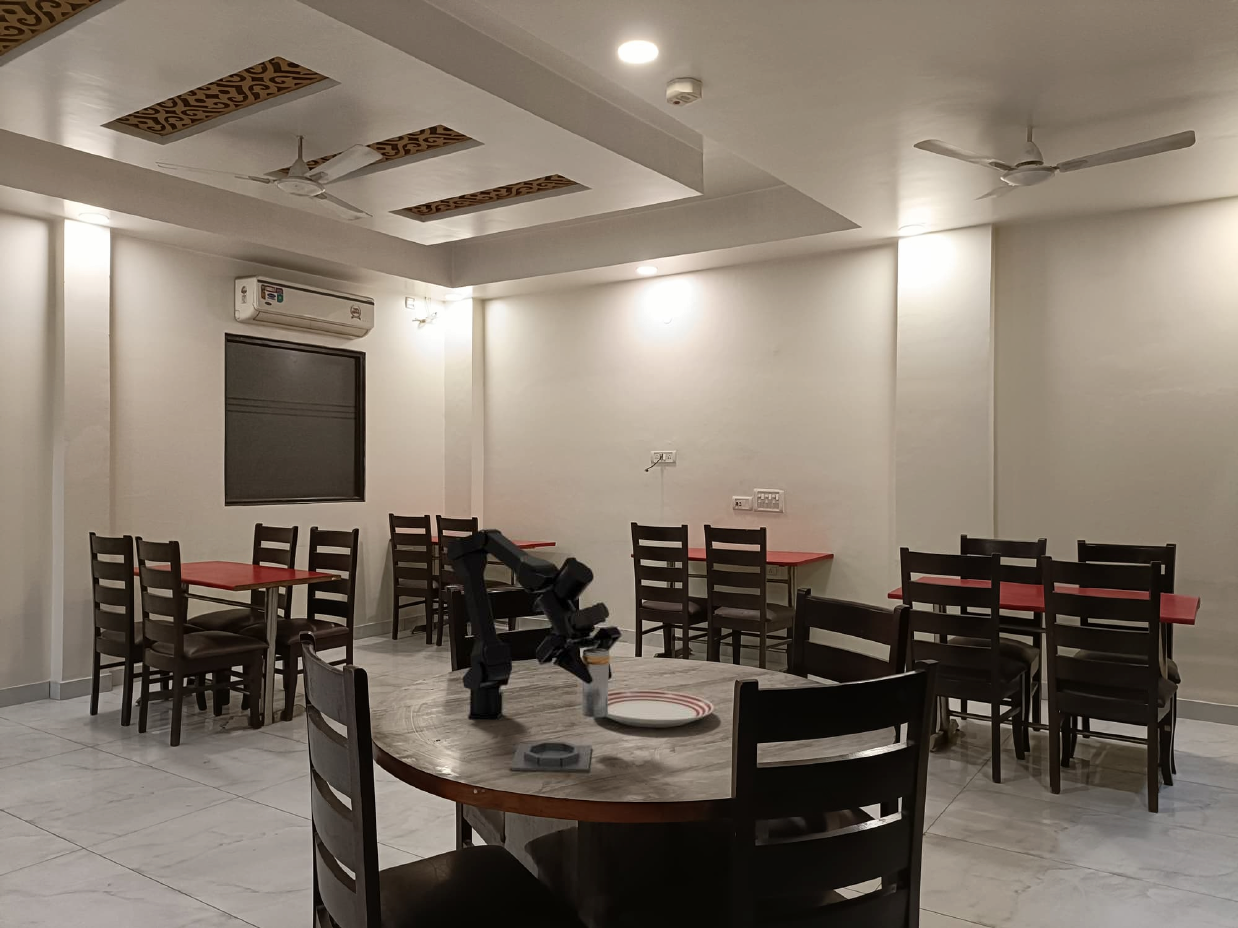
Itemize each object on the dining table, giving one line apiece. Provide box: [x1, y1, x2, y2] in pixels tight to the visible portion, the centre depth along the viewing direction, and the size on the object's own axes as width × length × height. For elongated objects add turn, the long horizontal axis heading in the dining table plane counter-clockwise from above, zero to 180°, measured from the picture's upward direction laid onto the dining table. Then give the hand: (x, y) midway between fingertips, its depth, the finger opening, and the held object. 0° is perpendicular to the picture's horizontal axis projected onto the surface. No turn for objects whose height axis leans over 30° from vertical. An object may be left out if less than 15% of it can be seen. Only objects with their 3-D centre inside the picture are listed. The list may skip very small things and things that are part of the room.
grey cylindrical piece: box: [581, 648, 610, 718], centre depth 173 cm, size 5×5×12 cm
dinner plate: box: [605, 689, 715, 728], centre depth 198 cm, size 28×27×3 cm
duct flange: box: [508, 740, 593, 773], centre depth 167 cm, size 14×14×2 cm
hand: (600, 680), depth 172 cm, fingers closed on grey cylindrical piece, 5 cm apart
